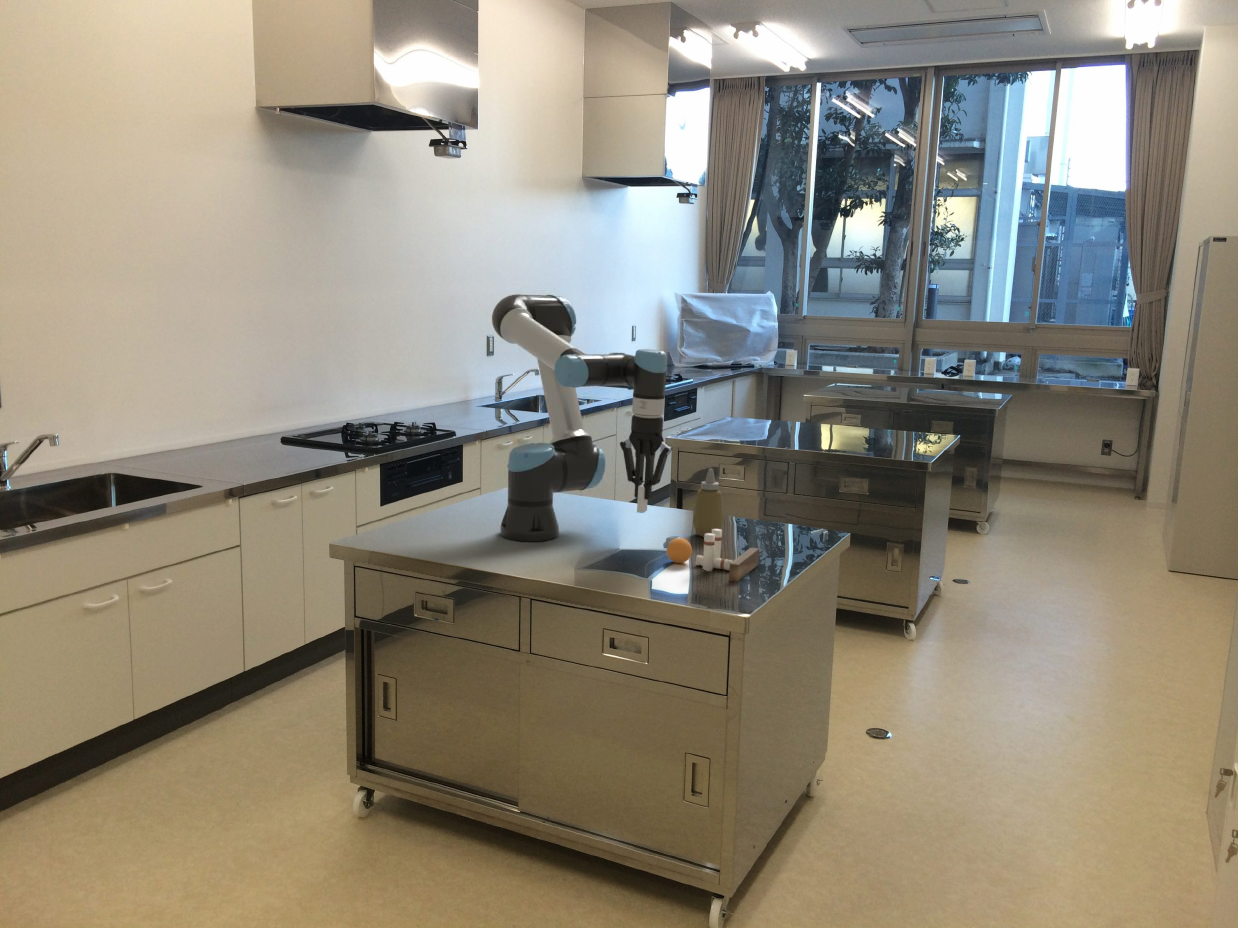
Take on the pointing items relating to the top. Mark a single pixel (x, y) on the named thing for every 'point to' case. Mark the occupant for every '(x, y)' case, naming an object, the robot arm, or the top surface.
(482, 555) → the top surface
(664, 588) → the top surface
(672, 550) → the orange ball
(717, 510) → the squeeze bottle
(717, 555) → the pin
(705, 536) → the pin
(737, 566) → the wall
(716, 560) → the front pin
